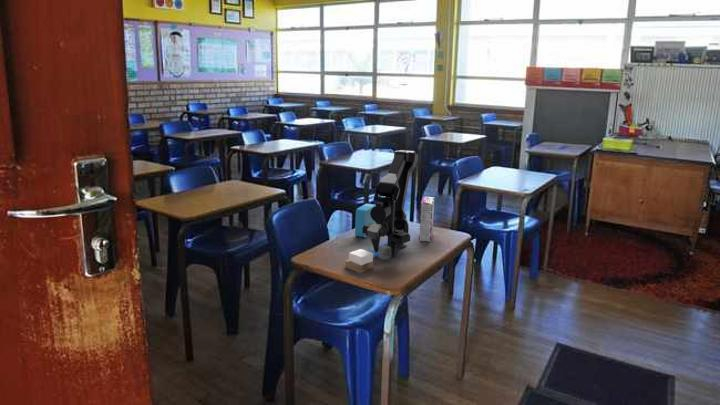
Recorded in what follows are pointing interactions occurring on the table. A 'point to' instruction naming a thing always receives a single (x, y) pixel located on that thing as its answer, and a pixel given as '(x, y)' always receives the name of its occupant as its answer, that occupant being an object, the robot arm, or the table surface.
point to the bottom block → (358, 266)
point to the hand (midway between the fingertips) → (384, 255)
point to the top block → (361, 257)
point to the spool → (384, 252)
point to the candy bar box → (426, 219)
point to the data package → (363, 219)
